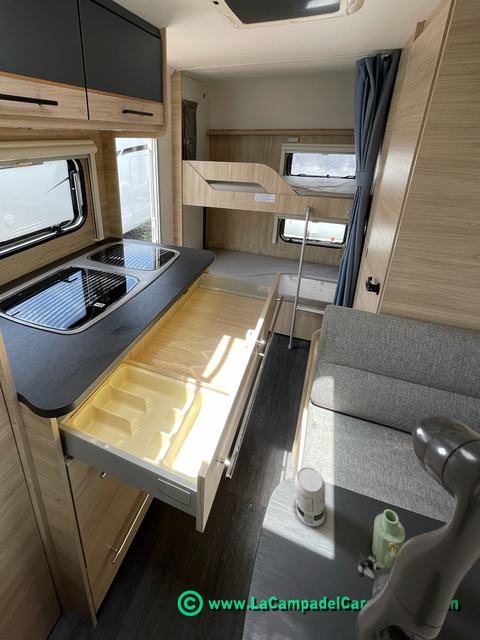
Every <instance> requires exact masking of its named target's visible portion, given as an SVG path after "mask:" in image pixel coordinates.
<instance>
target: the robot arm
mask: <svg viewBox="0 0 480 640" xmlns="http://www.w3.org/2000/svg"><path fill="white" fill-rule="evenodd" d="M411 449H412V452H413V456H414V458H415V459H416V461H417V463H418V464H419V465H420V467H421V468H422V469H423V470H424V471H425V472H426V474H428V476H430V477H431V478H432V479H433V480H434V481H435V482H436V483H437V484H438V485H439V486H440V487H441V488H442V489H444V491H446V492H447V494H449V495H450V496H451V497H452V498H453V499H454V500H455V503H454V508H453V511H452V514H451V516H450V519H449V520H448V522H446V524H445V525H443V526H442V527H440V528H437V529H435V530H432V531H428V532H425V533H421V534H419V535H415V536H412V537H411V538H409V539H407V540H406V541H404V544H403V545H402V547H401V548H400V549H399V551H398V553H397V555H396V558H395V561H394V564H393V566H392V568H385V567H384V566H383V565H382V564H381V563H380V562H378V561H377V560H376V555H374V554H373V553H372V554H369V555H368V557H366V555H365V553H363V552H359V556H358V564H357V575H358V576H359V577H360V578H365V577H369V578H371V581H372V582H373V586H372V591H371V598H370V599H369V600H368V601H367V602H366V603H365V604H364V605H363V606H362V607H361V609H360V610H359V612H358V614H357V617H356V620H355V627H354V628H355V629H354V630H355V637H356V640H434V639H436V637H438V636H439V634H440V632H441V629H442V628H443V625H444V622H445V620H446V617H447V614H448V612H449V610H450V607H451V605H452V602H453V600H454V597H455V595H456V593H457V591H458V588H459V587H460V585H461V584H462V582H463V580H464V578H465V577H466V575H467V574H468V572H469V571H470V570H471V569H472V567H473V565H474V564H475V563H476V562H477V561H478V559H479V558H480V434H479V433H477V431H475V430H473V429H472V428H471V427H469V426H468V425H466V424H465V423H463V422H461V421H459V420H457V419H454V418H452V417H448V416H444V415H432V416H427V417H425V418H423V419H421V420H419V421H418V422H417V423H416V425H414V428H413V430H412V432H411Z"/></svg>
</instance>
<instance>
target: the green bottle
mask: <svg viewBox="0 0 480 640" xmlns="http://www.w3.org/2000/svg"><path fill="white" fill-rule="evenodd" d="M405 538H406V532H405V527H404V526H403V524H402V523H401V522H400V521H399V516H398V514H397V513H396V511H394V510H392V509H387V508H386V509H384V511H383V512H382V513H379V514H378V515H376V516H375V519H374V523H373V534H372V545H371V550H372V555H373V554H374V555H376V562H380V563H381V564H382V565H383V566H384V567H385V568H386V565H385V556H386V553H387V552H388V551H390V550H392V546H391V547H390V548H389V546H388V544H389V543H395V545H396V546H398V547H399V549H400V548H401V547H402V545H403V544H404V543H405Z"/></svg>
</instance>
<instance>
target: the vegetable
mask: <svg viewBox="0 0 480 640" xmlns="http://www.w3.org/2000/svg"><path fill="white" fill-rule="evenodd" d="M388 546H389V548H390V547H391V546H392V550H390V551H388V552H387V553H386V556H385V565H386V568H392V566H393V564H394V561H395V558H396V555H397V553H398V551H399V547H398V546H396V545H395V543H389V544H388Z"/></svg>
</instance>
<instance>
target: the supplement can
mask: <svg viewBox="0 0 480 640" xmlns="http://www.w3.org/2000/svg"><path fill="white" fill-rule="evenodd" d="M294 484H295V486H294V487H295V507H296V508H295V509H296V514H297V516H298V518H299V519H300V521H301V522H303V523H304V524H305V525H307V526H310V527H318V526H320V525H322V524H323V522H324V521H325V517H326V484H325V481H324V478H323V476H322V475H321V473H320V472H319V471H317V470H316V469H315V468H312V467H307V466H306V467H302V468H300V469H299V470H298V472H296V474H295V478H294Z"/></svg>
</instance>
